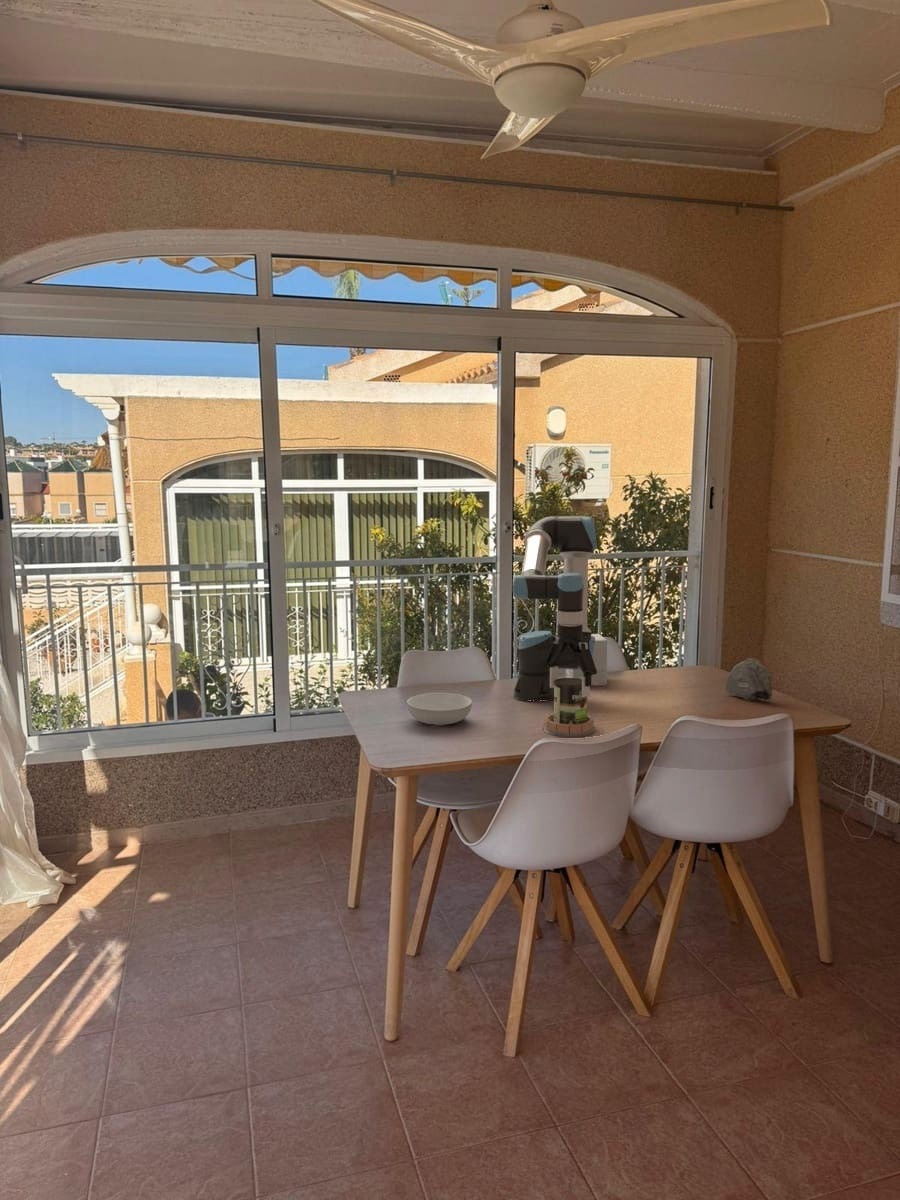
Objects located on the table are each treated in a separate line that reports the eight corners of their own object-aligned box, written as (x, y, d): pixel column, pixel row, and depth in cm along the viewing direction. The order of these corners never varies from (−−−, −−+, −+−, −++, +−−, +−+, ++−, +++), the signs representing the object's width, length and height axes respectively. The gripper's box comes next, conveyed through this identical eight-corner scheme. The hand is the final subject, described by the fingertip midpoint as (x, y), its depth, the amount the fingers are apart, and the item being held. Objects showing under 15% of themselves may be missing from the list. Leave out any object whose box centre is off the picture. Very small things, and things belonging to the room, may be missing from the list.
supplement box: (598, 677, 319) (599, 633, 317) (607, 685, 306) (607, 639, 304) (565, 678, 318) (565, 634, 316) (572, 686, 305) (572, 640, 303)
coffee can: (593, 726, 252) (594, 681, 250) (570, 732, 245) (571, 687, 243) (569, 719, 260) (570, 675, 258) (546, 725, 253) (546, 681, 251)
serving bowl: (421, 734, 249) (421, 712, 248) (398, 717, 268) (397, 696, 267) (482, 726, 257) (482, 704, 256) (455, 709, 276) (455, 689, 275)
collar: (536, 733, 248) (536, 722, 247) (550, 719, 262) (550, 709, 262) (588, 739, 242) (588, 728, 241) (599, 724, 256) (600, 714, 256)
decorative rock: (773, 703, 280) (775, 660, 278) (761, 706, 276) (763, 662, 274) (734, 693, 293) (735, 652, 291) (722, 695, 290) (723, 654, 288)
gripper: (609, 628, 240) (608, 697, 243) (549, 616, 259) (549, 681, 263) (592, 631, 235) (591, 702, 239) (532, 619, 255) (532, 685, 258)
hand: (569, 691), depth 251 cm, fingers open, 13 cm apart
